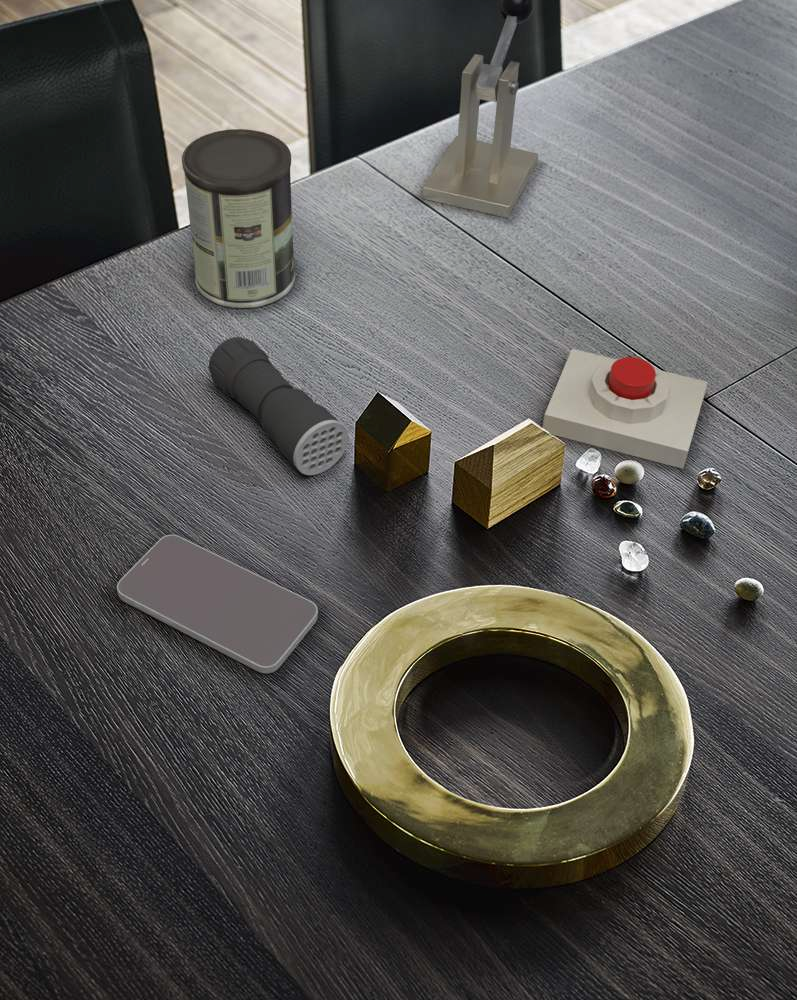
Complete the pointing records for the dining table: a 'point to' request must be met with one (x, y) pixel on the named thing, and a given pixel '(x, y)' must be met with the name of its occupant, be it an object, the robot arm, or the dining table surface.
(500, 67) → the lever
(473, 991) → the dining table surface
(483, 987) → the dining table surface
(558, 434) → the stop box
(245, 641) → the smartphone
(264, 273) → the coffee can
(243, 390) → the flashlight
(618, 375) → the stop button
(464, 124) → the stand
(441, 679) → the dining table surface
